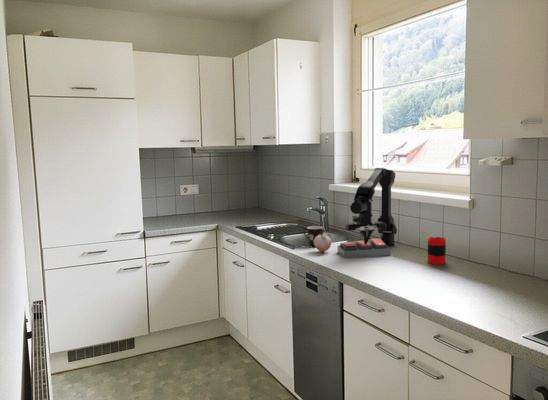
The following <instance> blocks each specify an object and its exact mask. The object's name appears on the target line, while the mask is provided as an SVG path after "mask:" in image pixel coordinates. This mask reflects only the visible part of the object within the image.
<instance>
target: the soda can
mask: <svg viewBox="0 0 548 400" xmlns="http://www.w3.org/2000/svg"><path fill="white" fill-rule="evenodd" d="M446 242H447V240H446V239H445V237H444V236H443V235H439V234H438V235H437V234H436V235H429V237H428V239H427V263H428V264H431V265H436V266H437V265H438V266H439V265H445V263H446V250H447V249H446V246H447V245H446Z"/></svg>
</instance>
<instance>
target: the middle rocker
mask: <svg viewBox="0 0 548 400" xmlns="http://www.w3.org/2000/svg"><path fill="white" fill-rule="evenodd" d="M356 242H357V244H359V245H360V246H370V243H369V241H368V242H367V244H365V243H364V240H356Z"/></svg>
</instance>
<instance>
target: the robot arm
mask: <svg viewBox="0 0 548 400" xmlns="http://www.w3.org/2000/svg"><path fill="white" fill-rule="evenodd" d="M395 179H396V172H395V171H394V170H392V169H387V168H385V167H375V168H374V170H373V172H372V174H371V175H370V176H369V178H368V179H367V180H366V181H365V182H363V183H361V184H360V185H358V187H357V189H356V192H355V195H354V196H353V200H354V201H353V202H352V203H350V207H349V209H350V211H351V213H352V214H354V215H352V222H347V223H345V226H344V227H345V230H347V231H358V232H359V233H360V234H361V238H362V241H364V243H365V244H367V242H368V243H369V240H370V238H371V236H372V234H373V233H374V232H375V228H377V232H378V234H380V236H379V238H380V239H381V240H382V241H383V242H384V243H385V244H386V245H387V247H389V246H396V243H395V235H397V233H398V229H397V226H396V224H395V218H394V217H393V216H392V187H393V185H394V183H395ZM378 184H379V186H381V205H380V206H381V215H380V216H379V217H378V218H377V221H375V222H374V223H373V222H372V221H373V220H372V217H373V214H372V211H373V210H372V209H373V208H372V207H373V206H372V205H373V204H372V202H374V200H373V197H374V196H375V192H376V190H375V189H376V187H377V186H378Z"/></svg>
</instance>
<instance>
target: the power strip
mask: <svg viewBox="0 0 548 400" xmlns="http://www.w3.org/2000/svg"><path fill="white" fill-rule="evenodd" d="M342 243H343V242H341V243H339V244H338V245H337V253H338V254H339V255H340V256H341V257H342V258H344V259H355V258H368V257H369V258H370V257H371V258H372V257H385V256H387V257H388V256H391V247H389V246H387V245H386V244H385V243H384V244H385V245H377V246H376V245H375V244H373V243H372V242H371V240H370V241H368V243H370V246H360V245H359V244H357V241H356V242H354V243H355V246H344V245H343V244H342Z"/></svg>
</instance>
